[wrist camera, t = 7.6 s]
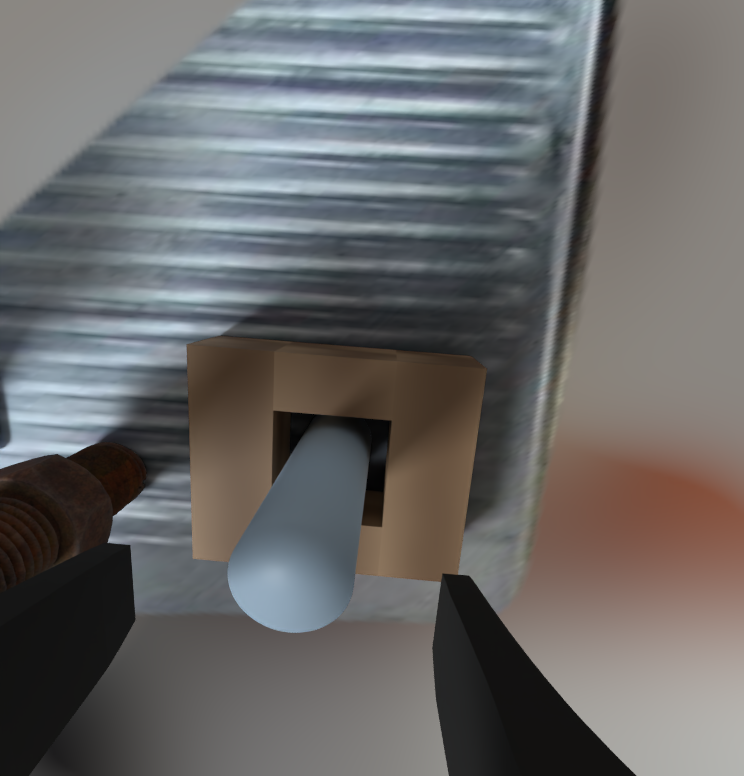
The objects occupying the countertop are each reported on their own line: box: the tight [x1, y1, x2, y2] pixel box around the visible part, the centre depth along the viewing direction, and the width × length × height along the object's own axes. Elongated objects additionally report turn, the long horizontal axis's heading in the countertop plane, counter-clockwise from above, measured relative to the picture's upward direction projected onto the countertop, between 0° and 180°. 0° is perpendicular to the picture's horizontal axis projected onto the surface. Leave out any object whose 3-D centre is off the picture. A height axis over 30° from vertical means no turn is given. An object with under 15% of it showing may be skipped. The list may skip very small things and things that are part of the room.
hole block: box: [187, 336, 487, 582], centre depth 18 cm, size 11×9×3 cm
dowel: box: [228, 414, 372, 633], centre depth 14 cm, size 3×3×10 cm
